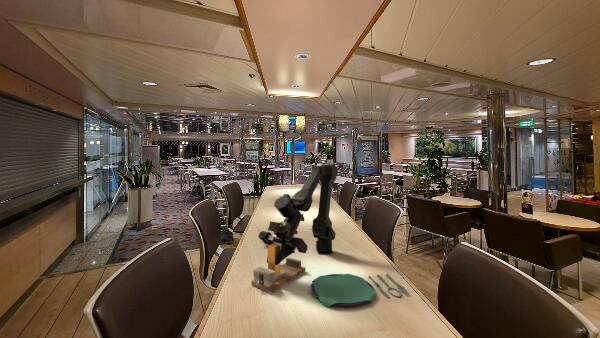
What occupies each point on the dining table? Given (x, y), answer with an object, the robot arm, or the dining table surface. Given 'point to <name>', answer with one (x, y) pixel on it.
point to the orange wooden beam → (273, 262)
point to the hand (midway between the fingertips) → (271, 263)
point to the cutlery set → (348, 289)
